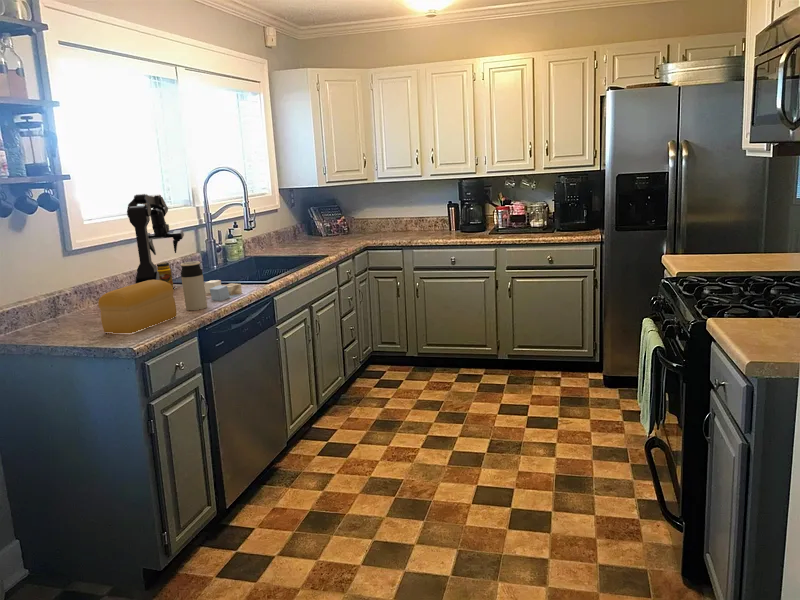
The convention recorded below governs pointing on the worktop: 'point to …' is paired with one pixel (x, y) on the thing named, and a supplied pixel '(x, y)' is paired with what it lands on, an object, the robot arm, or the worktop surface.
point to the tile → (233, 296)
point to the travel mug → (193, 286)
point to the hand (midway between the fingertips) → (165, 253)
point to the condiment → (165, 273)
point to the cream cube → (211, 285)
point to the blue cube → (219, 293)
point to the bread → (137, 306)
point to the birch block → (234, 289)
